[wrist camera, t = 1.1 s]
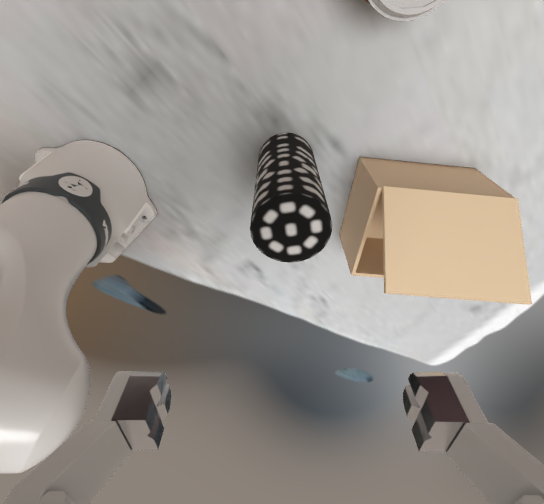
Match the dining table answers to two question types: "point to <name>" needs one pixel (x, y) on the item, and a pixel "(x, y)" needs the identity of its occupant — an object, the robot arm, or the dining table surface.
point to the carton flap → (453, 246)
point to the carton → (368, 203)
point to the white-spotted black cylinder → (289, 201)
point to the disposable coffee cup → (405, 8)
